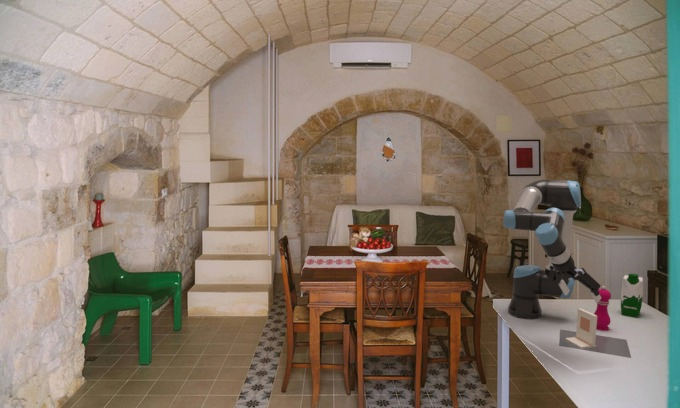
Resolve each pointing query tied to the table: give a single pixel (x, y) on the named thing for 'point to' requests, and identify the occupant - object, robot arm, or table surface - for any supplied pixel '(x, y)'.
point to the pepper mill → (603, 310)
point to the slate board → (599, 344)
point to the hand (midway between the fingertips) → (582, 296)
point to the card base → (579, 343)
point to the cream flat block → (586, 326)
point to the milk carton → (631, 295)
